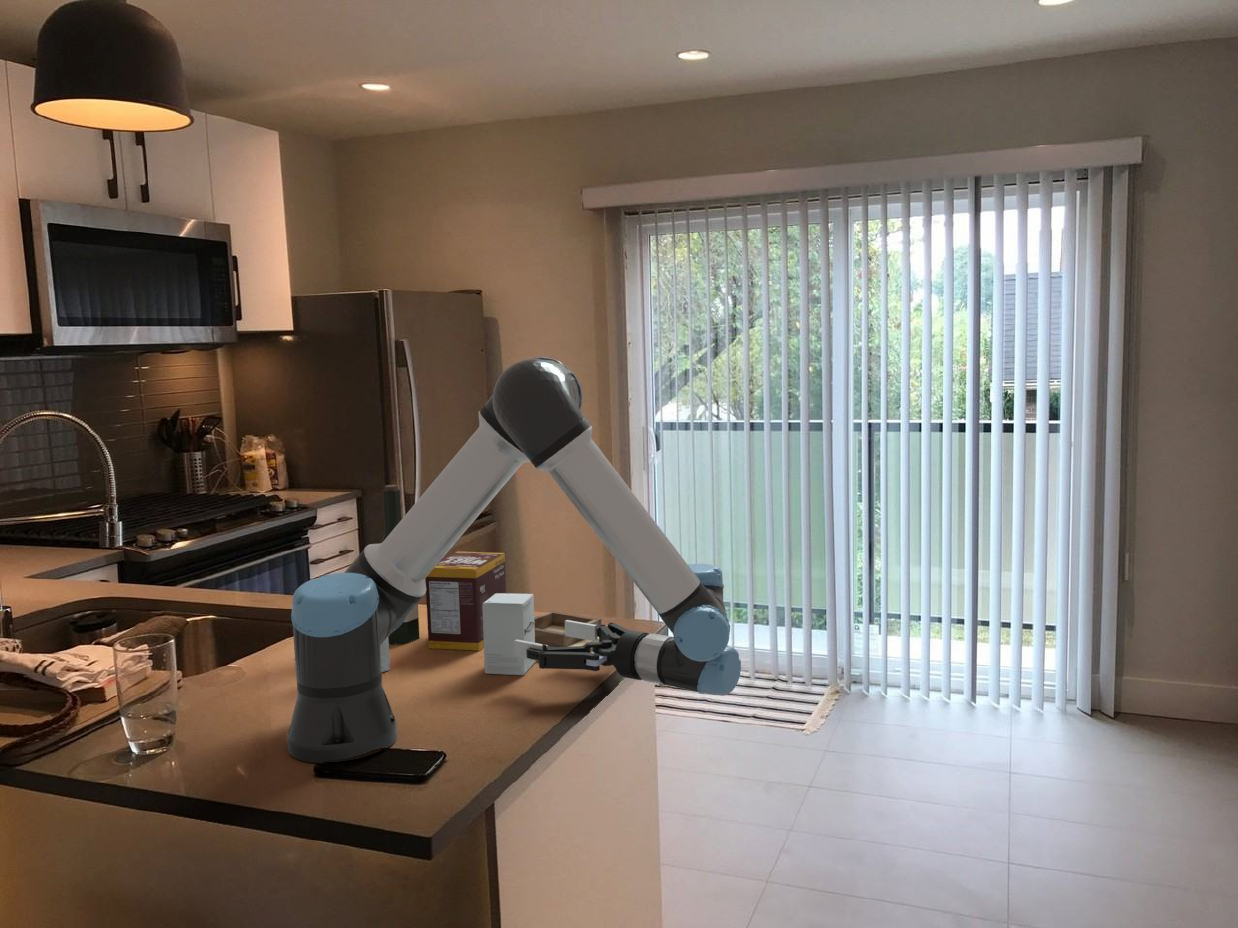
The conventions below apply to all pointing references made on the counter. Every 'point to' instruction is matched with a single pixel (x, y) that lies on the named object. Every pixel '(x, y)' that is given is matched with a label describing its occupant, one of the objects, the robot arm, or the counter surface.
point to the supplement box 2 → (507, 632)
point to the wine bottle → (392, 518)
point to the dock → (560, 629)
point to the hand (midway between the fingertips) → (541, 637)
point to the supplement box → (462, 598)
